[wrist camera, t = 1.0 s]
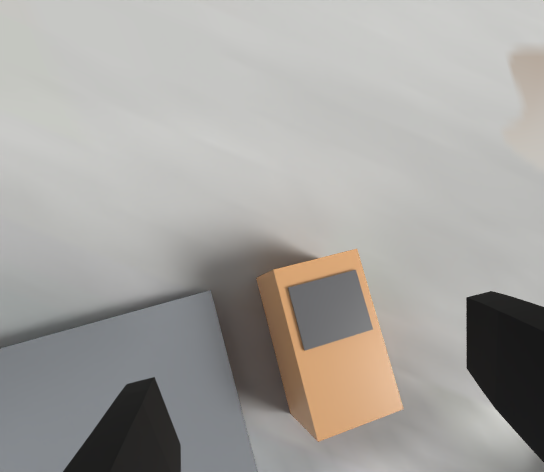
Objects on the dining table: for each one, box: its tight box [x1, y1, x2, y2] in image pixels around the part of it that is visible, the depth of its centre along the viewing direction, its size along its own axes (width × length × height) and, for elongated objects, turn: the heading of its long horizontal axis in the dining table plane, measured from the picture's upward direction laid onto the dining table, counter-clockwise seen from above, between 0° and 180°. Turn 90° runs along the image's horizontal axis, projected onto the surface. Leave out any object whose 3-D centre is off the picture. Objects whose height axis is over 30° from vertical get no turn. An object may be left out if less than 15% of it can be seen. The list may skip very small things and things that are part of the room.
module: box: [256, 249, 404, 442], centre depth 21 cm, size 8×4×5 cm, turn 15°
